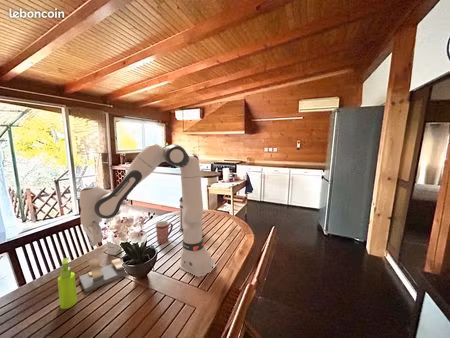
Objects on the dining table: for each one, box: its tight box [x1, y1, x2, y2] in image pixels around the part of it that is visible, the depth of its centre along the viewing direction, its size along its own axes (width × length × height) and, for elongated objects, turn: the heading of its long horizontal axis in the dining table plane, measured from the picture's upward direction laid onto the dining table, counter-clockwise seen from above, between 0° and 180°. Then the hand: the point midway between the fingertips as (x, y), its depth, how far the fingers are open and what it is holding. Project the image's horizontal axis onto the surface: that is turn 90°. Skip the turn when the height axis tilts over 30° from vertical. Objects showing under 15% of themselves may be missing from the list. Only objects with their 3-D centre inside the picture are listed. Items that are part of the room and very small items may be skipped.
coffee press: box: [178, 196, 183, 232], centre depth 165 cm, size 17×16×30 cm
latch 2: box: [110, 257, 124, 272], centre depth 111 cm, size 11×4×1 cm, turn 46°
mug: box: [155, 220, 174, 244], centre depth 145 cm, size 13×9×14 cm
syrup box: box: [106, 240, 123, 256], centre depth 128 cm, size 6×6×14 cm
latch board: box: [79, 259, 128, 293], centre depth 107 cm, size 12×23×3 cm, turn 136°
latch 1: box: [88, 257, 104, 282], centre depth 102 cm, size 11×4×1 cm
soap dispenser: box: [57, 257, 78, 310], centre depth 88 cm, size 6×7×20 cm
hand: (93, 244), depth 102 cm, fingers closed
